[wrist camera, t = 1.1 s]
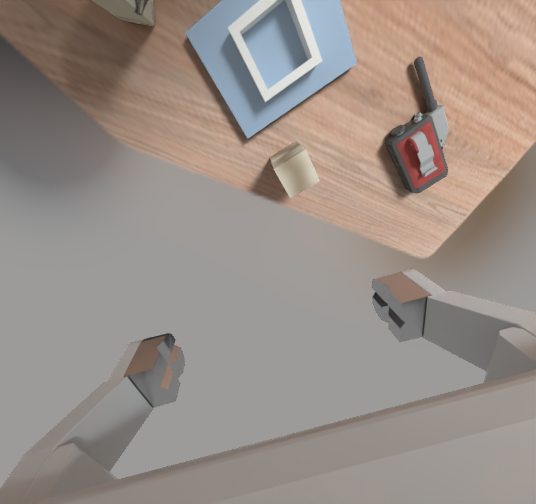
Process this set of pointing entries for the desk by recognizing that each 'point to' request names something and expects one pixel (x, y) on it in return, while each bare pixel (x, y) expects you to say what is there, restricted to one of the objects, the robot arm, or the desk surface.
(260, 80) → the base plate
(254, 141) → the desk surface
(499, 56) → the desk surface
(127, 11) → the box
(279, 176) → the block
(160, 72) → the desk surface
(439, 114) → the walkie-talkie
